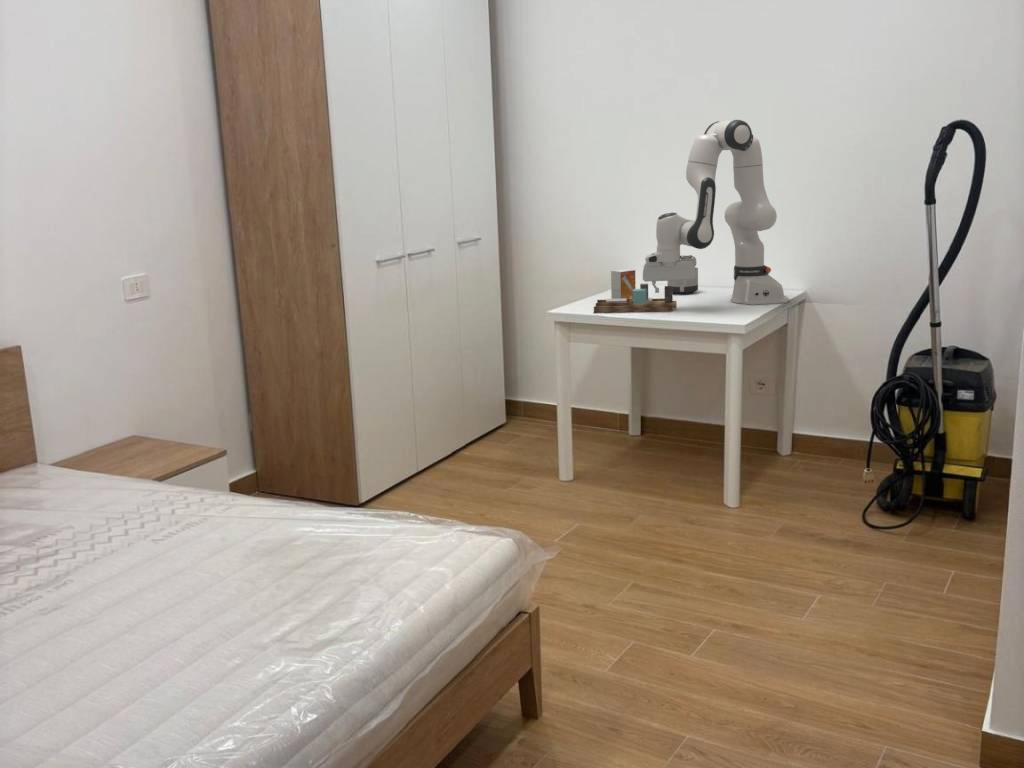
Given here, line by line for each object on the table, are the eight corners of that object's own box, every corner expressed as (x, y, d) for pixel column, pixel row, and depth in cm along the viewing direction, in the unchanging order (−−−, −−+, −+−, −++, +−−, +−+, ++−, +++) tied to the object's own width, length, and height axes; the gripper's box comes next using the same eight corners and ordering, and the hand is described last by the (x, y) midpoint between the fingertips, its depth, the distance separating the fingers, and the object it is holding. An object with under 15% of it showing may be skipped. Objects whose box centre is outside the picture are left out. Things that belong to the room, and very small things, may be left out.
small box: (621, 303, 399) (620, 271, 396) (611, 302, 404) (610, 270, 401) (636, 301, 403) (635, 269, 400) (626, 299, 408) (625, 268, 405)
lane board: (672, 304, 391) (672, 298, 391) (672, 311, 375) (672, 305, 374) (597, 305, 396) (597, 299, 396) (593, 313, 380) (593, 306, 379)
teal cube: (646, 301, 383) (646, 288, 381) (646, 303, 378) (646, 290, 377) (633, 301, 383) (633, 289, 382) (633, 303, 379) (632, 290, 377)
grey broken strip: (652, 302, 391) (652, 282, 389) (651, 305, 385) (651, 285, 383) (607, 303, 394) (606, 283, 392) (606, 306, 388) (605, 286, 386)
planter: (664, 291, 424) (664, 267, 422) (693, 290, 425) (693, 265, 423) (671, 296, 412) (671, 271, 409) (701, 294, 413) (701, 269, 411)
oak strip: (676, 305, 382) (676, 285, 380) (676, 308, 376) (676, 287, 374) (630, 306, 385) (629, 286, 383) (629, 309, 379) (628, 288, 377)
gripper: (696, 254, 376) (696, 289, 379) (642, 256, 379) (643, 291, 383) (696, 256, 370) (697, 292, 373) (641, 258, 373) (642, 294, 377)
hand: (669, 292), depth 378 cm, fingers open, 8 cm apart
